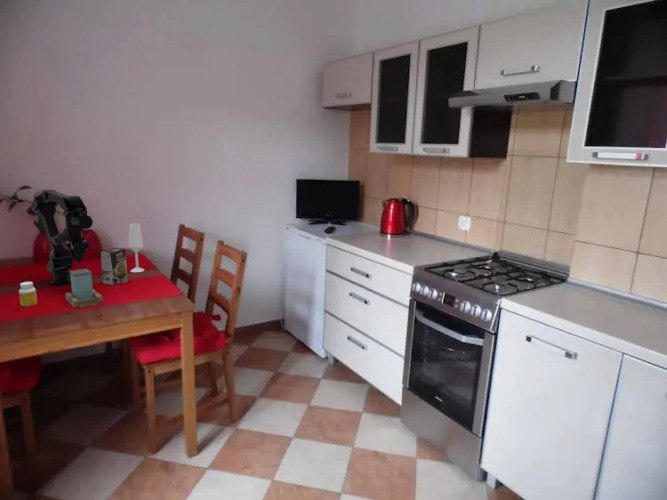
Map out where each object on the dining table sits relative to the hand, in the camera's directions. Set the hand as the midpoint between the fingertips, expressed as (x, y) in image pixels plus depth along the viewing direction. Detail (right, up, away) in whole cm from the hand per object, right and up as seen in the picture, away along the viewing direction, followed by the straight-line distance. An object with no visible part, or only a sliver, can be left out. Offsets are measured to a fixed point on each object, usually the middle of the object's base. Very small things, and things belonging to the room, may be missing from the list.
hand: (77, 261), depth 189 cm
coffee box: (+10, -11, +13) cm, 20 cm away
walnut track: (+11, -17, -13) cm, 24 cm away
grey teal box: (+10, -15, -12) cm, 22 cm away
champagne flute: (+10, -6, +35) cm, 37 cm away
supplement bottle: (-8, -18, -18) cm, 26 cm away
